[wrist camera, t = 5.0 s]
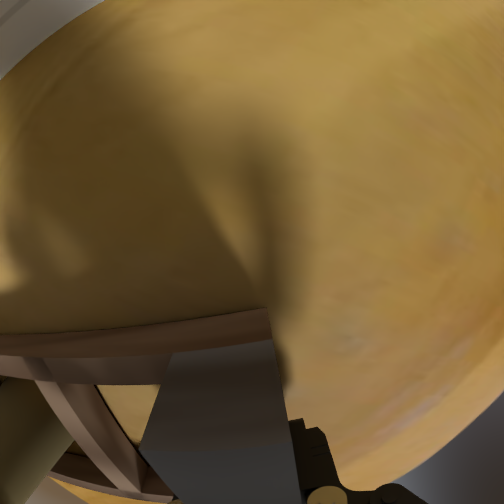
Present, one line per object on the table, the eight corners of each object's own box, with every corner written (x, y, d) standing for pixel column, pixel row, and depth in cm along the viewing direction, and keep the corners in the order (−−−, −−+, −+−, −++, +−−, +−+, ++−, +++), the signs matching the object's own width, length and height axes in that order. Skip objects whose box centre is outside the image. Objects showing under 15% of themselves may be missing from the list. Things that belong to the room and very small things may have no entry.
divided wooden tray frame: (-34, 334, 10) (-84, 374, 4) (266, 307, 10) (291, 441, 4) (40, 452, 13) (14, 498, 7) (294, 469, 13) (308, 551, 7)
